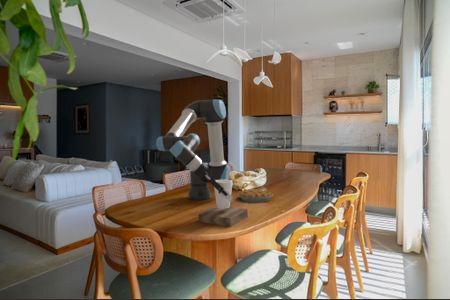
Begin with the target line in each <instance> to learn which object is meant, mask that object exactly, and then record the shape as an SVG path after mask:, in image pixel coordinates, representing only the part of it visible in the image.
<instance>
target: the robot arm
mask: <svg viewBox="0 0 450 300" xmlns="http://www.w3.org/2000/svg"><path fill="white" fill-rule="evenodd" d="M226 117H227V110H226V106H225V103H224V101H223V100H221V99H203V100H201V99H199V100H195V101H193V102H192V103H189V104H188V105H187V106H185V108H184V109H183V110H182V112H181V115H180V116H179V118H178V119H177V120H176V121H175V123H174V124H173V125H172V127H171V128H170V130H168V132H167V133H166V134H165V135H164V136H163V135H162V136H158V138H157V139H156V143H155V144H156V148H157V150H158V151H161V152H170V153H171V154H172V156H174V157H175V158H176V159H177V160H178V161H180V162H181V164H183V166H185V167H186V170H189V172H190V173H189V175H190V178H189V180H190V181H189V182H190V186H189V191H188V193H187V198H188V199H189V200H191V201H203V200H205V201H206V200H209V199H211V197H212V195H211V191H210V188H209V184H211V185H212V187H213V188H214V187H215V188H216V189H217V190H218V191H219V192H218V193H219V194H220V193H221V194H222V195H223V196H224V197H225V198H226V199H227V200H228V201H229V202H230V203H231V201H232V200H233V199H234V197H233V196H232V194H231V195H230V194H229V193H228V192H227V191H226V190H225V189H224V188H223V187H221V186H220V185H219V184H218V183H217V182H216V181H215V180H230V175H231V166H230V165H228V164H227V163H228V162H227V161H226V159H225V156H224V154H225V153H224V143H223V131H222V130H223V129H222V123H223V122H224V119H225V118H226ZM197 120H204V123H205V125H207V133H208V144H209V155H210V162H204V161H202V159H201V158H200V157H199V156H198V155H197V154H196V153H194V152H195V151H196V150H197V148H198V147H199V145H200V143H201V139H200V137H199V136H198V134H196V133H192V132H191V133H189V134H188V135H186V136H184V135H185V133H186V132H187V130H188V129H189V127H190V126H191V125H192V123H195V122H196V121H197Z"/></svg>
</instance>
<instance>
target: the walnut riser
mask: <svg viewBox="0 0 450 300" xmlns="http://www.w3.org/2000/svg"><path fill="white" fill-rule="evenodd" d="M248 212H249V211H248V208H240V207H233V206H230V207H229V208H217V205H214V206H212V207H210V208H208V209H205V210H203V211H201V212H199V213H198V215H197V216H198V222H200V223H206V224H212V225H218V226H222V227H230V228H232V227H233V226H235V225H236V224H238V223H240V222H241V221H243V220H245V219H247V218H248V216H249V215H248Z"/></svg>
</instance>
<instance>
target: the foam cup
mask: <svg viewBox="0 0 450 300" xmlns="http://www.w3.org/2000/svg"><path fill="white" fill-rule="evenodd" d="M215 181H216V182H217V183H218V184H219V185H220V186H221V187H223V188H224V189H225V190H226V191H227V192H228V193H229V194H230V195H231V196H232V189H233V185H234V184H233V179H231V180H230V179H228V180H215ZM213 188H214V189H213V190H214V196H215V202H216V203H215V204H216V206H217V208H229V207H231V206H230V205H231V201H230V202H229V201H228V200H227V199H226V198H225V197H224V196H223V195H222V194H221V193H220V194H219V193H218V192H219V191H218V190H217V189H216V188H215V187H214V186H213Z"/></svg>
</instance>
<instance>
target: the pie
mask: <svg viewBox="0 0 450 300" xmlns="http://www.w3.org/2000/svg"><path fill="white" fill-rule="evenodd" d="M238 195H239V196H240V199H241V200H242V201H244V202H248V203H264V202H269V201H271V199H272V197H273V192H271V191H267V190H261V189H258V190H257V189H252V190H250V189H248V190H242V191H240V192H239V194H238Z"/></svg>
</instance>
